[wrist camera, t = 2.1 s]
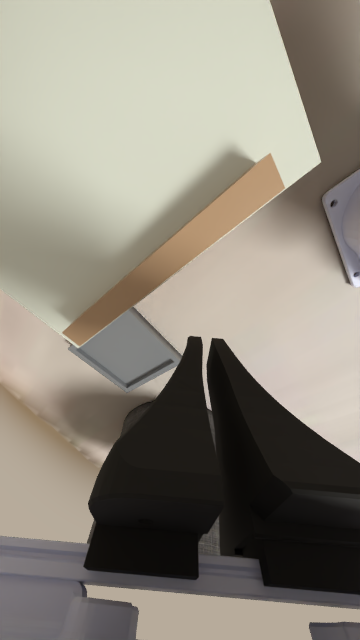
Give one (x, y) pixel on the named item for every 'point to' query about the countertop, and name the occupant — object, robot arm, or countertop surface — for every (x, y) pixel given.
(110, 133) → the lid
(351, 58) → the countertop surface
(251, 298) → the countertop surface
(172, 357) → the tray
